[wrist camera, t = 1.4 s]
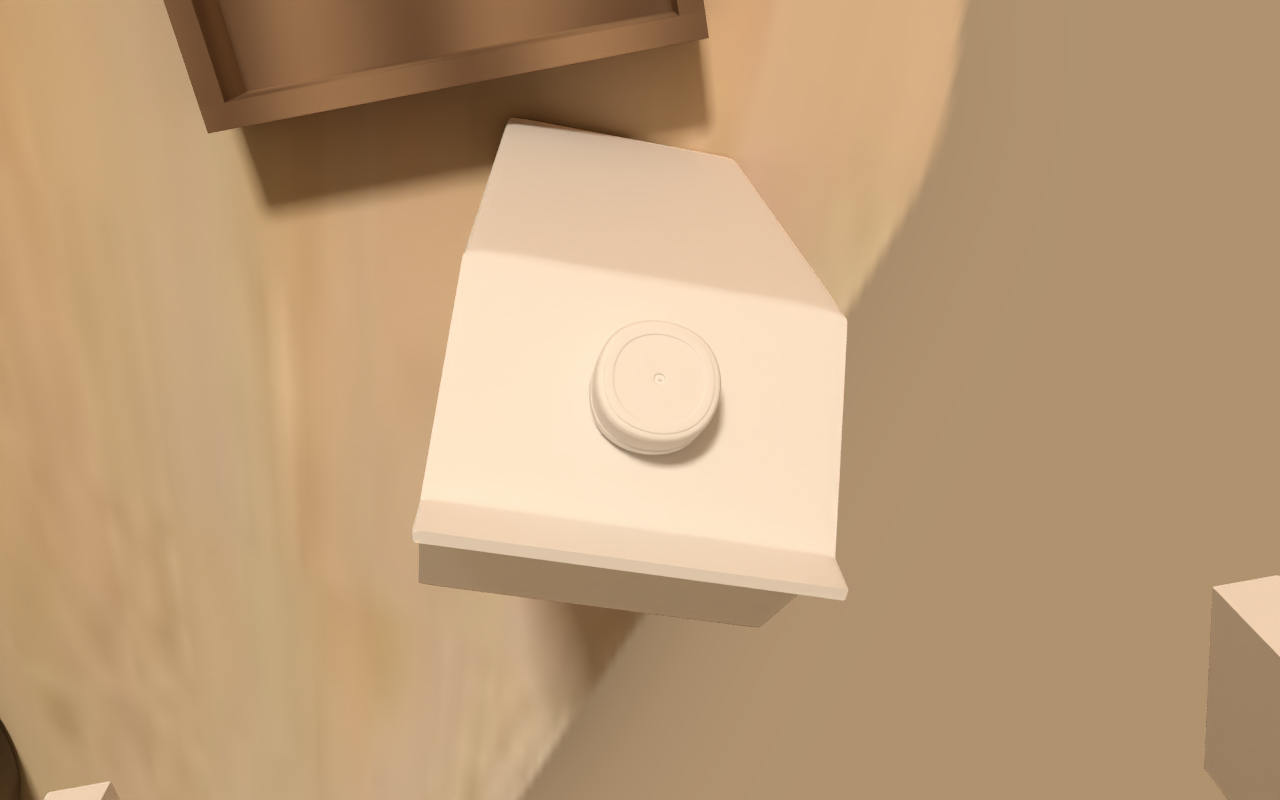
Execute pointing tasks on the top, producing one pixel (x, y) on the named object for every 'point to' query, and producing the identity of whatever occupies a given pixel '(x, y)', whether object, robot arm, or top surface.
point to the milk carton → (634, 390)
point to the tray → (396, 47)
